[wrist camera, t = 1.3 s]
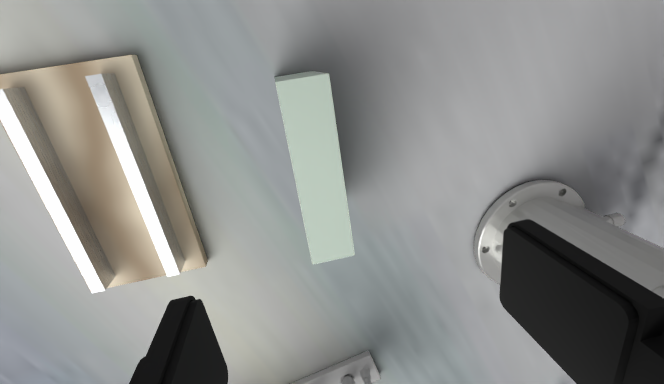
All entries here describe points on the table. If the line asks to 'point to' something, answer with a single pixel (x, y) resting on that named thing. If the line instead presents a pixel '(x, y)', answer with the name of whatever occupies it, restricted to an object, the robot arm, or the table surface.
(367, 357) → the test tube rack
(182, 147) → the table surface
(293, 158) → the door panel
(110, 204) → the bottom track
